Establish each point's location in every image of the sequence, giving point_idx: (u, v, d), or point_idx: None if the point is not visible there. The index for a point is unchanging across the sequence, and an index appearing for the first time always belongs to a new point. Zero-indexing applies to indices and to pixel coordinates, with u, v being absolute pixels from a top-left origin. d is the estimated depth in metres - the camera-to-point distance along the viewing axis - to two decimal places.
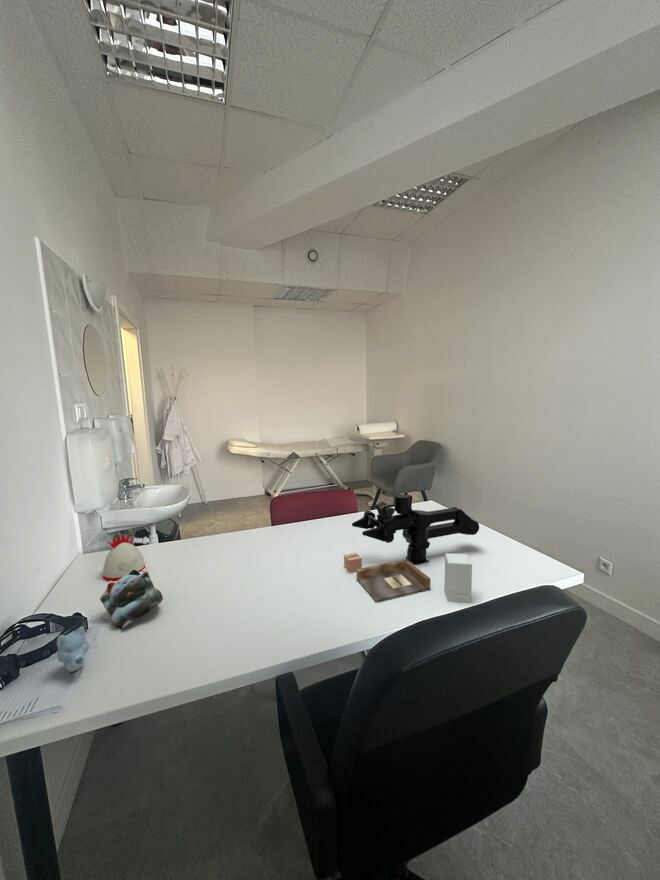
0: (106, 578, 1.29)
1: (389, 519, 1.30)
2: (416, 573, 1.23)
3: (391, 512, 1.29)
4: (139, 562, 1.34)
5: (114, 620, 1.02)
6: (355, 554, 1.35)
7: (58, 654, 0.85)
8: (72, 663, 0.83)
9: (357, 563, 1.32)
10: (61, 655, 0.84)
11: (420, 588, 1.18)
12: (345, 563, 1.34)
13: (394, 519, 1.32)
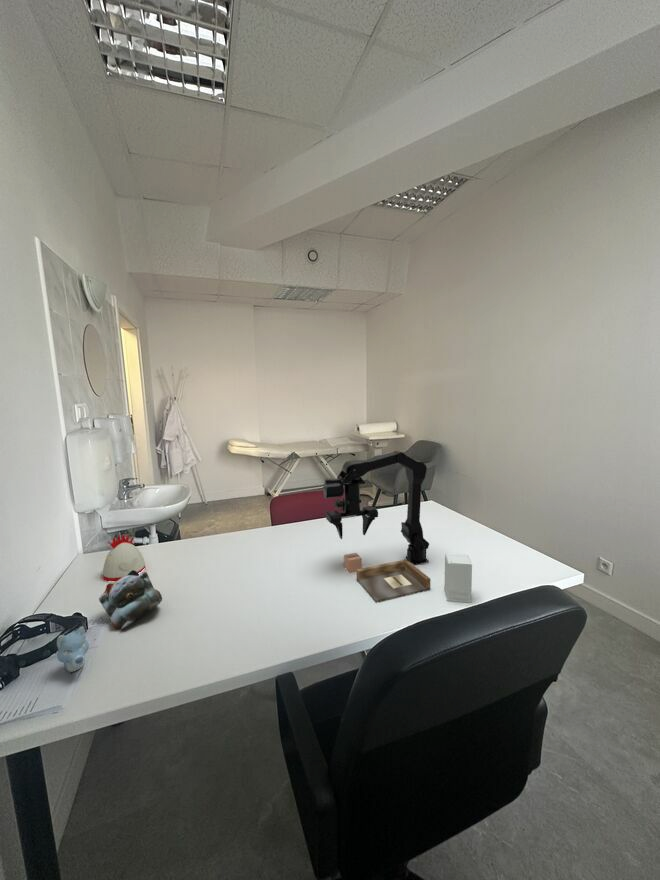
0: (106, 578, 1.29)
1: (342, 505, 1.33)
2: (416, 573, 1.23)
3: (335, 503, 1.35)
4: (139, 562, 1.34)
5: (113, 621, 1.01)
6: (355, 554, 1.35)
7: (58, 654, 0.85)
8: (72, 663, 0.83)
9: (357, 563, 1.32)
10: (61, 655, 0.84)
11: (420, 588, 1.18)
12: (345, 563, 1.34)
13: (343, 499, 1.32)
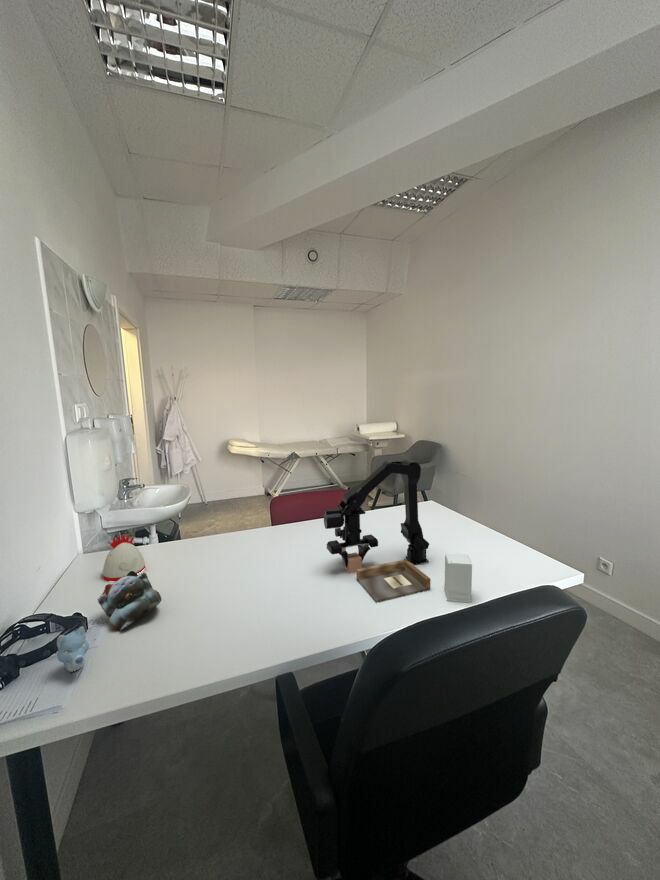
0: (106, 578, 1.29)
1: (342, 534, 1.34)
2: (416, 573, 1.23)
3: (336, 532, 1.37)
4: (139, 562, 1.34)
5: (113, 622, 1.01)
6: (355, 554, 1.35)
7: (58, 654, 0.85)
8: (72, 663, 0.83)
9: (357, 563, 1.32)
10: (62, 655, 0.84)
11: (420, 588, 1.18)
12: None
13: (344, 528, 1.34)
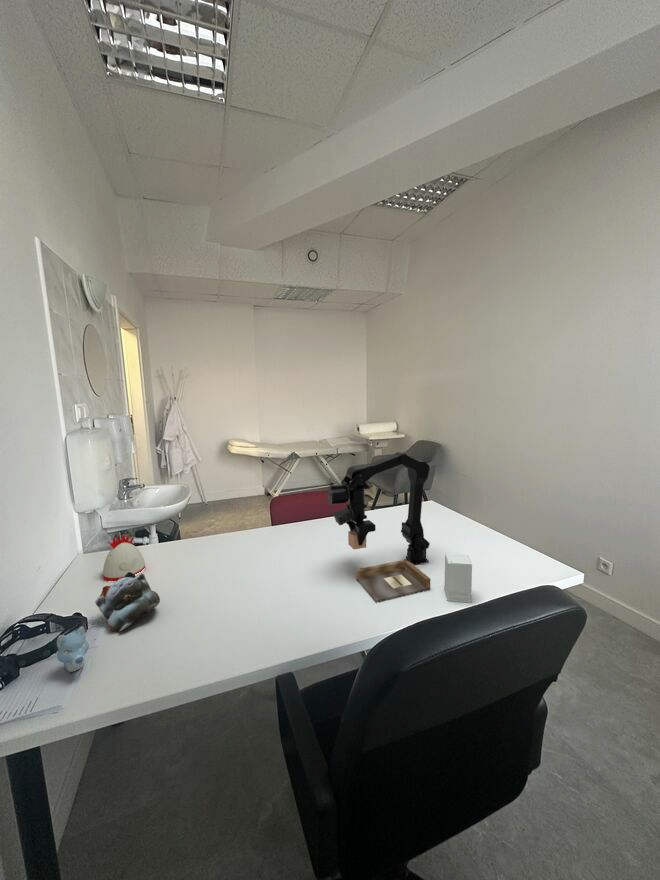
0: (106, 578, 1.29)
1: (352, 515, 1.26)
2: (416, 573, 1.23)
3: (346, 517, 1.24)
4: (139, 562, 1.34)
5: (111, 623, 1.00)
6: (352, 531, 1.32)
7: (58, 654, 0.85)
8: (72, 663, 0.83)
9: None
10: (62, 655, 0.84)
11: (420, 588, 1.18)
12: (357, 543, 1.28)
13: (353, 508, 1.26)
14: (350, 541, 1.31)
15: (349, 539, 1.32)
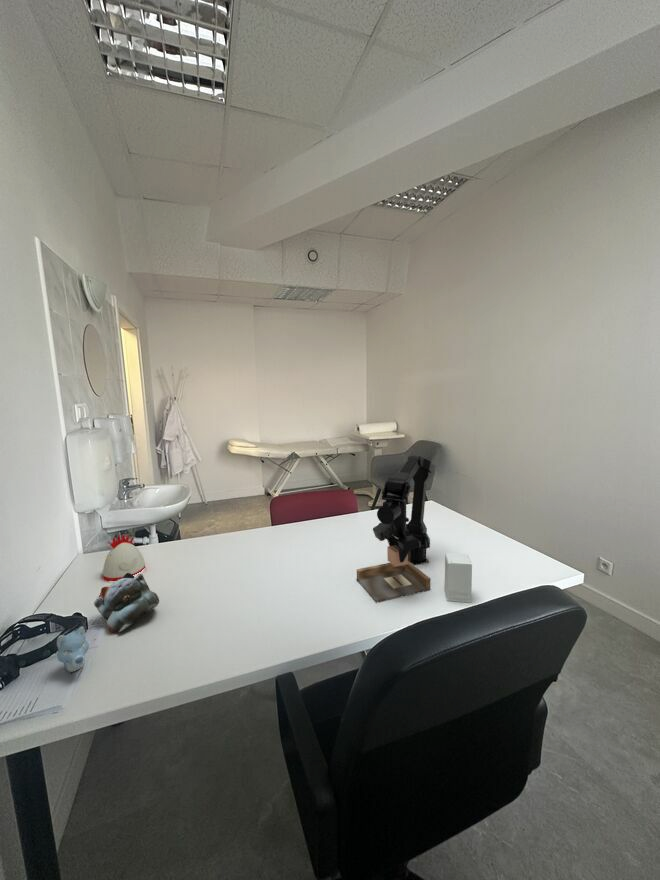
0: (106, 578, 1.29)
1: (394, 530, 1.17)
2: (416, 573, 1.23)
3: (388, 533, 1.15)
4: (139, 562, 1.34)
5: (110, 624, 1.00)
6: (392, 546, 1.23)
7: (58, 654, 0.85)
8: (72, 663, 0.83)
9: None
10: (62, 655, 0.84)
11: (420, 588, 1.18)
12: (398, 559, 1.19)
13: (395, 522, 1.17)
14: (390, 557, 1.21)
15: (389, 555, 1.22)
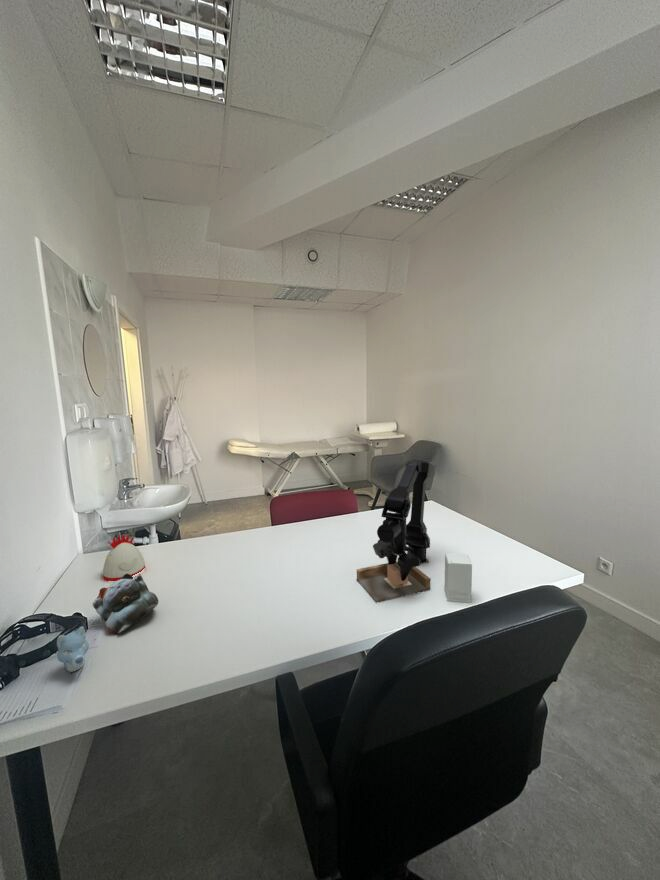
0: (106, 578, 1.29)
1: (394, 547, 1.18)
2: (416, 573, 1.23)
3: (388, 550, 1.15)
4: (139, 562, 1.34)
5: (110, 625, 0.99)
6: (392, 565, 1.23)
7: (58, 654, 0.85)
8: (72, 663, 0.83)
9: None
10: (62, 655, 0.84)
11: (420, 588, 1.18)
12: (398, 579, 1.20)
13: (395, 540, 1.18)
14: (390, 576, 1.22)
15: (389, 574, 1.23)
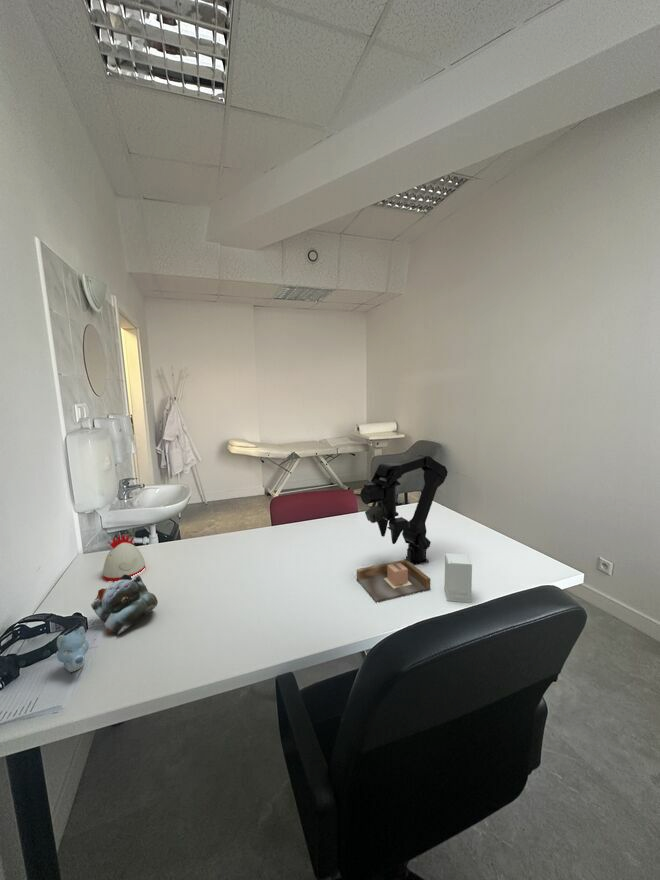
0: (106, 578, 1.29)
1: (385, 512, 1.26)
2: (416, 573, 1.23)
3: (379, 515, 1.23)
4: (139, 562, 1.34)
5: (109, 626, 0.99)
6: (392, 565, 1.23)
7: (58, 654, 0.85)
8: (72, 663, 0.83)
9: None
10: (61, 655, 0.84)
11: (420, 588, 1.18)
12: (398, 579, 1.20)
13: (385, 505, 1.26)
14: (390, 576, 1.22)
15: (389, 574, 1.23)
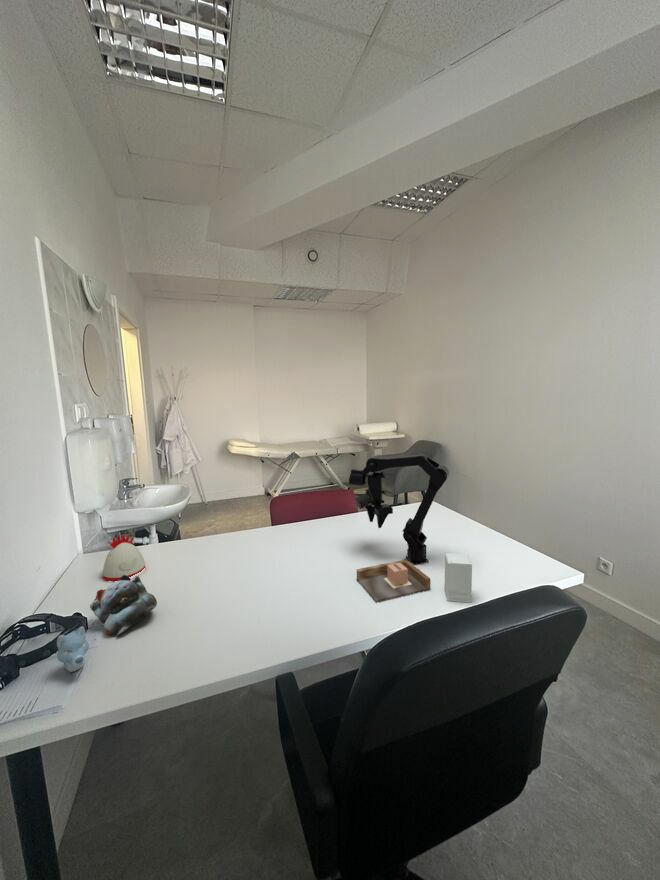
0: (106, 578, 1.29)
1: (372, 499, 1.41)
2: (416, 573, 1.23)
3: (366, 501, 1.38)
4: (139, 561, 1.34)
5: (108, 627, 0.98)
6: (392, 565, 1.23)
7: (58, 654, 0.85)
8: (72, 663, 0.83)
9: None
10: (62, 655, 0.84)
11: (420, 588, 1.18)
12: (398, 579, 1.20)
13: (372, 493, 1.41)
14: (390, 576, 1.22)
15: (389, 574, 1.23)
